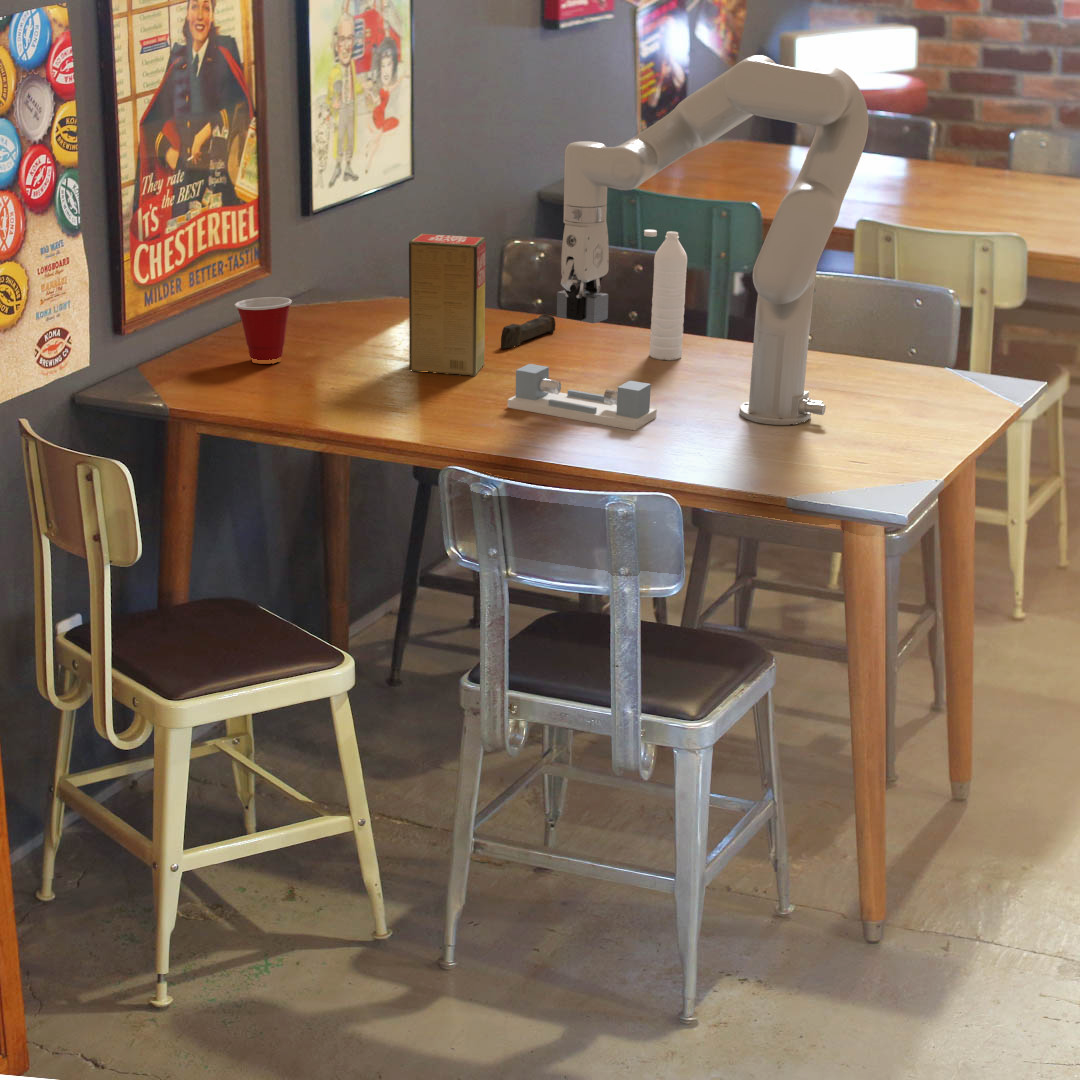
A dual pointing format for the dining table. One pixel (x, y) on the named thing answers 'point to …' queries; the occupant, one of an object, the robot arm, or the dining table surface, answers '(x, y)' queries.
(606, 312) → the block
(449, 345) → the food packaging
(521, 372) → the shaft stand
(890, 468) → the dining table surface
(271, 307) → the plastic cup
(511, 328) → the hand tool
